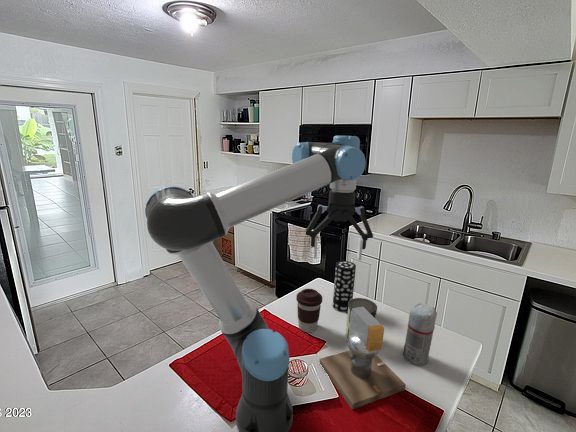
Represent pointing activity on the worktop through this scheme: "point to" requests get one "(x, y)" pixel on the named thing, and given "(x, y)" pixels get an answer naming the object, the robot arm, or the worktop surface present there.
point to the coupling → (365, 334)
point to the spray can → (419, 334)
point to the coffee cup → (308, 309)
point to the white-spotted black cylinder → (343, 285)
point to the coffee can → (359, 302)
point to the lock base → (361, 378)
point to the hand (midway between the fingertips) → (336, 257)
